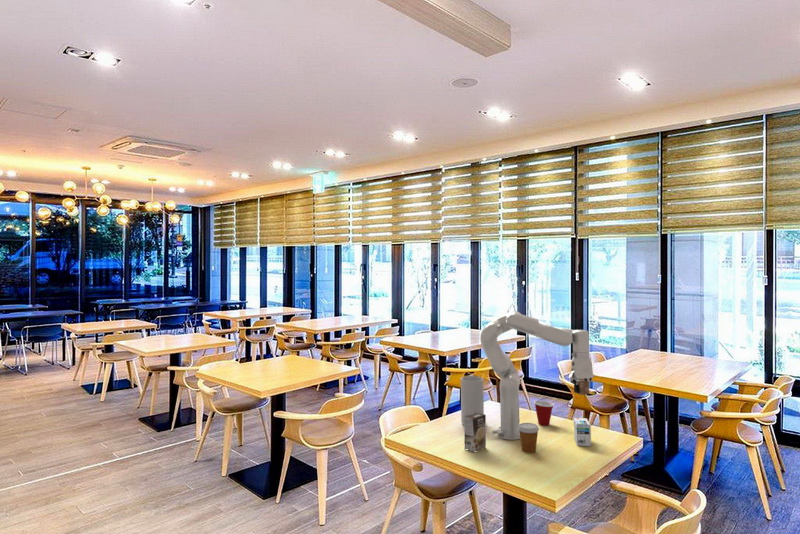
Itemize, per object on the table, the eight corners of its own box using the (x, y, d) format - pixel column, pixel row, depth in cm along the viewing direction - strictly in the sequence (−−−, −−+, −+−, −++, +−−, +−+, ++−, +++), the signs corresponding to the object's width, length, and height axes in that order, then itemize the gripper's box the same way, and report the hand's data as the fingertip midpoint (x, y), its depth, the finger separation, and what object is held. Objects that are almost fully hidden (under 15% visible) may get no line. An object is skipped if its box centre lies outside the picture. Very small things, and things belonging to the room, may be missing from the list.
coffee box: (474, 452, 232) (474, 418, 232) (464, 449, 237) (463, 416, 237) (486, 447, 239) (485, 414, 239) (475, 444, 243) (475, 411, 243)
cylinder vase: (459, 420, 282) (458, 376, 282) (480, 419, 283) (479, 375, 284) (464, 427, 270) (463, 381, 270) (486, 426, 271) (486, 380, 271)
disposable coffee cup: (528, 456, 227) (527, 430, 228) (514, 449, 236) (513, 424, 236) (543, 452, 232) (543, 426, 232) (529, 446, 240) (529, 421, 240)
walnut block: (580, 394, 241) (580, 382, 241) (574, 392, 246) (574, 380, 246) (589, 393, 243) (589, 381, 243) (582, 391, 247) (582, 379, 247)
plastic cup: (557, 427, 268) (556, 405, 268) (537, 427, 268) (536, 405, 268) (551, 421, 279) (550, 399, 279) (531, 421, 279) (531, 400, 279)
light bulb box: (591, 446, 238) (591, 424, 238) (576, 446, 240) (576, 423, 240) (587, 439, 249) (587, 417, 249) (573, 438, 250) (573, 417, 250)
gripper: (571, 357, 238) (572, 395, 238) (600, 355, 244) (600, 391, 243) (561, 355, 245) (562, 391, 245) (589, 352, 251) (590, 388, 251)
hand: (581, 391), depth 244 cm, fingers closed on walnut block, 5 cm apart
